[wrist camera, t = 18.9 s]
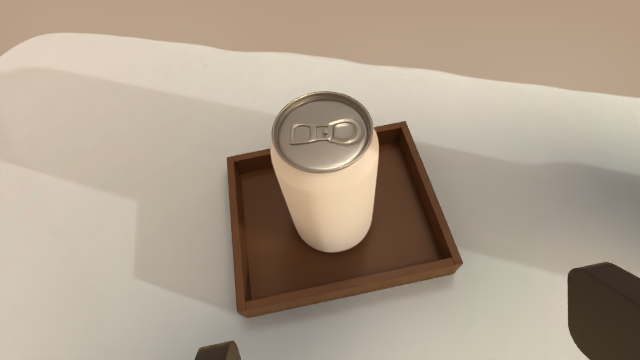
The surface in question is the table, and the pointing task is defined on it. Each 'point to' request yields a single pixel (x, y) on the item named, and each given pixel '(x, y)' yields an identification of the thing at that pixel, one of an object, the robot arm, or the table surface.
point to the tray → (340, 267)
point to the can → (327, 168)
